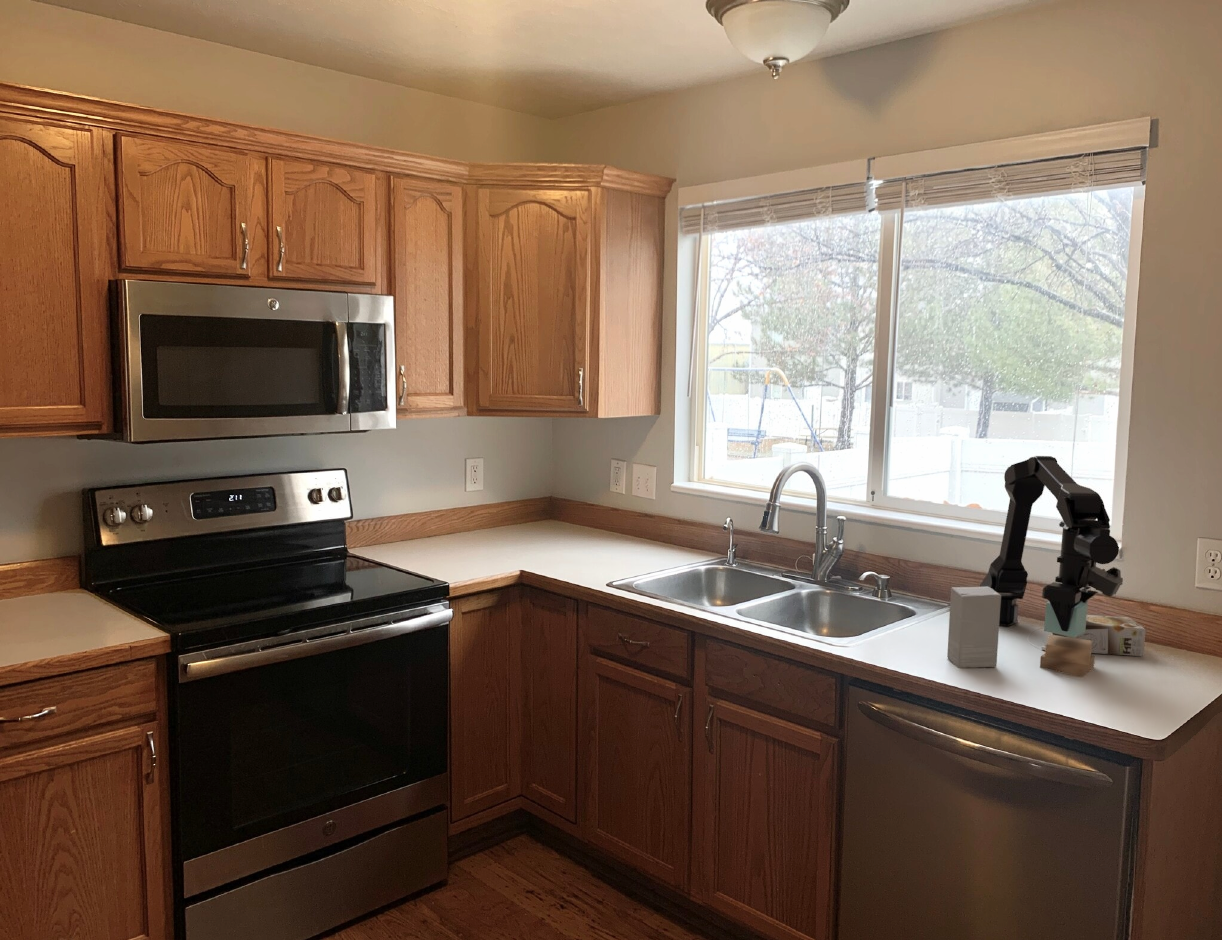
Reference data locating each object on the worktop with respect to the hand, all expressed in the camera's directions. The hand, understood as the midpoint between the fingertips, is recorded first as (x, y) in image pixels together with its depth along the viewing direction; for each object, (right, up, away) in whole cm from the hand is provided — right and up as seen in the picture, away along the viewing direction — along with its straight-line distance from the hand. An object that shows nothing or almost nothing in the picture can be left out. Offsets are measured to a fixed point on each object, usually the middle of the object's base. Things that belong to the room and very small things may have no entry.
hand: (1070, 627), depth 192 cm
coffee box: (+21, -4, +13) cm, 25 cm away
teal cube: (-1, -1, +1) cm, 1 cm away
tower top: (0, -6, +1) cm, 6 cm away
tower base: (0, -9, +1) cm, 9 cm away
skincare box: (-19, -8, +3) cm, 21 cm away
